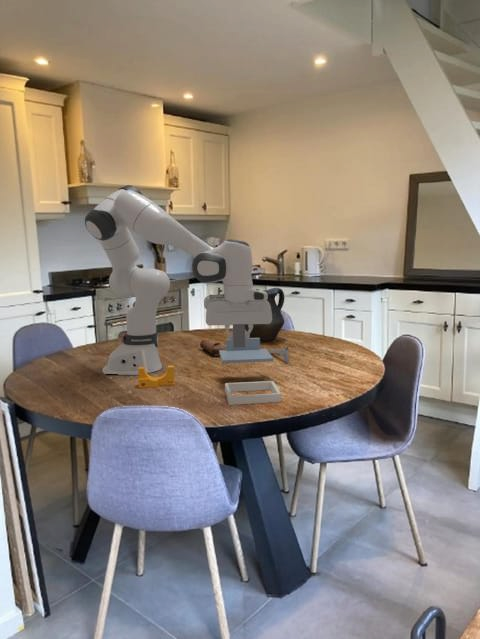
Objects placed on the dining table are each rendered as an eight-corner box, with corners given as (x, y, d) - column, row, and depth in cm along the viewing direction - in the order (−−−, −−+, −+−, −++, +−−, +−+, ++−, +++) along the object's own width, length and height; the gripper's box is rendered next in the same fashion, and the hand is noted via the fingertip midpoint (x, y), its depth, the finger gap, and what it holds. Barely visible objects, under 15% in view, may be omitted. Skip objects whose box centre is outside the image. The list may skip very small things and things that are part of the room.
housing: (228, 406, 155) (228, 396, 154) (225, 392, 168) (224, 383, 168) (281, 403, 156) (281, 393, 156) (273, 389, 170) (273, 380, 170)
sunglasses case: (231, 350, 219) (221, 339, 216) (219, 362, 218) (209, 351, 215) (217, 342, 235) (207, 332, 233) (206, 353, 234) (197, 343, 232)
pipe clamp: (138, 388, 174) (137, 370, 173) (139, 385, 179) (138, 367, 178) (174, 386, 176) (173, 368, 175) (174, 383, 180) (173, 365, 179)
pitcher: (234, 339, 251) (233, 288, 247) (272, 334, 262) (271, 285, 257) (255, 346, 234) (254, 292, 229) (295, 341, 244) (295, 289, 239)
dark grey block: (233, 347, 156) (233, 324, 155) (233, 345, 160) (232, 323, 159) (245, 347, 157) (244, 324, 155) (244, 344, 160) (243, 322, 159)
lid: (222, 363, 169) (222, 348, 169) (219, 353, 184) (218, 339, 183) (273, 361, 171) (273, 346, 170) (266, 351, 186) (266, 337, 185)
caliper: (289, 363, 202) (289, 347, 201) (286, 363, 202) (286, 348, 201) (271, 351, 221) (271, 337, 220) (268, 351, 221) (268, 337, 220)
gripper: (203, 296, 152) (205, 342, 154) (272, 294, 153) (273, 339, 155) (203, 293, 158) (204, 337, 160) (269, 291, 159) (270, 335, 162)
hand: (239, 338), depth 158 cm, fingers closed on dark grey block, 3 cm apart
